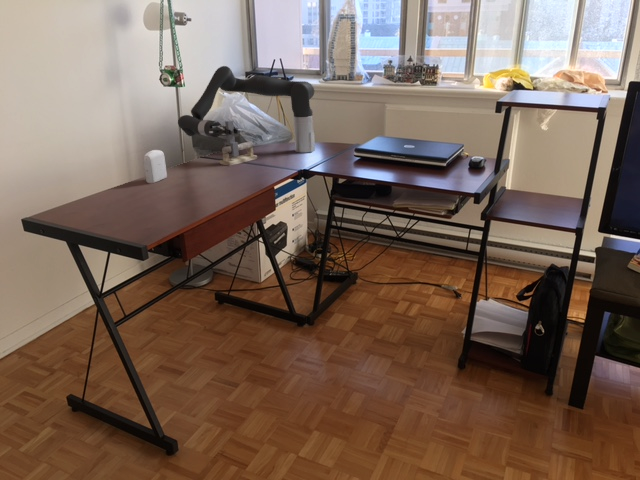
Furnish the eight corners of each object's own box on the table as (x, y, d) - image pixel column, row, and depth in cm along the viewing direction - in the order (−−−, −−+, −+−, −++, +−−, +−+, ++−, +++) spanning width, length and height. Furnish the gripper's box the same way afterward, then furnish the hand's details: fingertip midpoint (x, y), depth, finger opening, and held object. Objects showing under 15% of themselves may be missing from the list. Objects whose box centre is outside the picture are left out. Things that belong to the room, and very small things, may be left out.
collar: (230, 153, 253) (227, 120, 247) (238, 155, 249) (236, 121, 244) (225, 155, 251) (222, 121, 245) (233, 156, 247) (230, 122, 241)
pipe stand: (247, 157, 262) (246, 140, 259) (257, 158, 258) (256, 141, 255) (219, 163, 250) (218, 146, 247) (230, 165, 246) (228, 148, 243)
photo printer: (153, 183, 219) (149, 153, 215) (145, 183, 220) (140, 152, 216) (168, 177, 228) (165, 148, 224) (160, 177, 229) (156, 147, 225)
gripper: (196, 122, 248) (221, 125, 238) (220, 118, 258) (245, 121, 248) (198, 138, 251) (223, 142, 240) (222, 134, 261) (246, 137, 250)
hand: (234, 131), depth 244 cm, fingers closed on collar, 3 cm apart
